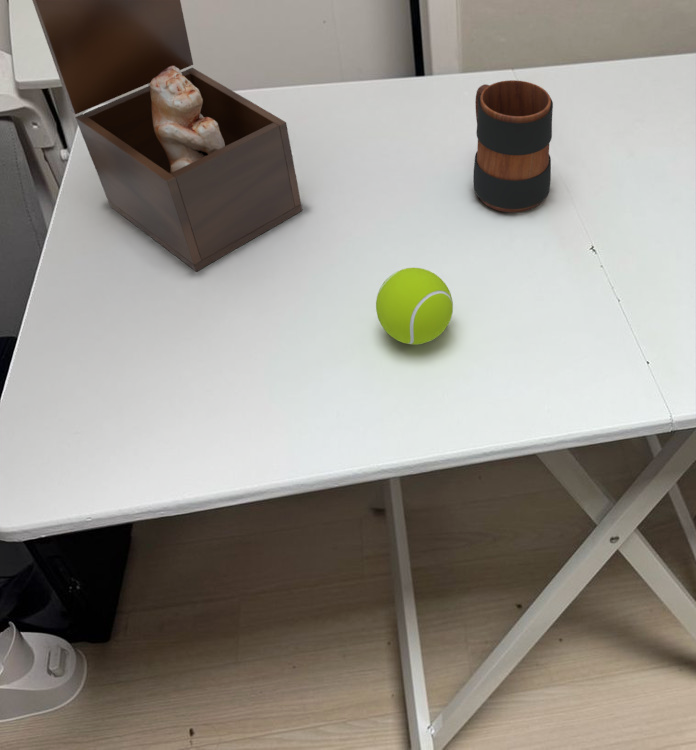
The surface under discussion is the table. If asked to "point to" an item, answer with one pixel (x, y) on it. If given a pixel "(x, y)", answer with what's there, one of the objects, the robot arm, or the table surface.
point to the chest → (195, 173)
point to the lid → (112, 45)
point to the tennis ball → (414, 306)
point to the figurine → (181, 120)
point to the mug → (513, 145)
